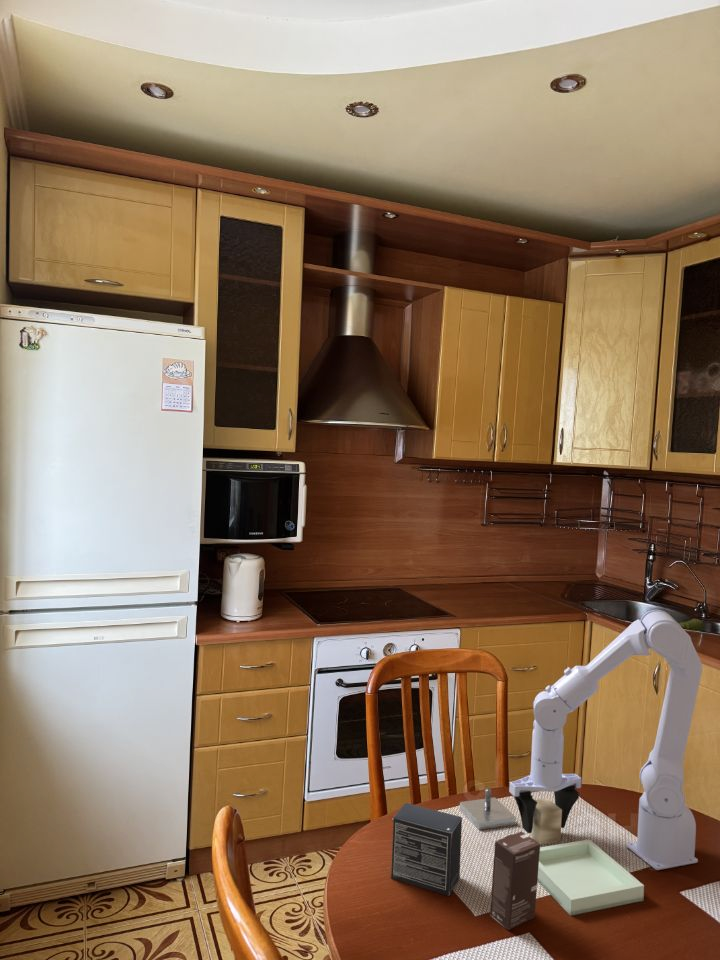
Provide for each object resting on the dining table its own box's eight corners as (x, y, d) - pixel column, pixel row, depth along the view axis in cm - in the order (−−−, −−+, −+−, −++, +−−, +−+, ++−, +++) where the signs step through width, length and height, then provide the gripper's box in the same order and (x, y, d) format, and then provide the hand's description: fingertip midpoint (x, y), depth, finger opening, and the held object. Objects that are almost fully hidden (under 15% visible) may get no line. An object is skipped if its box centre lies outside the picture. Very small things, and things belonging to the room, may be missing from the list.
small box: (461, 876, 116) (464, 815, 116) (450, 898, 110) (452, 833, 110) (403, 858, 120) (405, 800, 120) (389, 878, 115) (391, 817, 114)
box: (510, 933, 102) (513, 854, 102) (488, 915, 106) (492, 839, 106) (538, 919, 106) (541, 842, 105) (516, 903, 109) (519, 829, 109)
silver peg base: (494, 804, 141) (495, 778, 141) (515, 824, 133) (516, 796, 133) (459, 809, 138) (460, 782, 138) (478, 830, 131) (480, 801, 131)
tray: (588, 852, 125) (589, 839, 124) (643, 900, 111) (644, 885, 111) (521, 864, 120) (522, 850, 120) (570, 915, 107) (571, 899, 107)
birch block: (546, 828, 132) (548, 798, 132) (560, 841, 128) (561, 809, 128) (526, 831, 131) (527, 801, 131) (539, 844, 127) (541, 812, 127)
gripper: (566, 744, 135) (563, 812, 136) (502, 751, 131) (499, 821, 131) (589, 759, 129) (585, 831, 129) (522, 768, 124) (518, 841, 124)
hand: (543, 827), depth 130 cm, fingers open, 7 cm apart
